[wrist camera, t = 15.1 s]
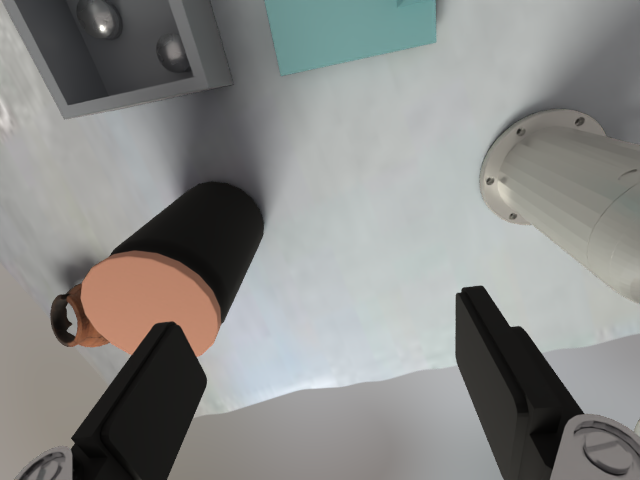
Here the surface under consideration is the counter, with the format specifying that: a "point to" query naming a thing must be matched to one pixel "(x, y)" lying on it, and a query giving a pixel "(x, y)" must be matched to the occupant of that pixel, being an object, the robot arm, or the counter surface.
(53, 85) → the tub
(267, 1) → the teal platform with post
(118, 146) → the counter surface
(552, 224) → the robot arm
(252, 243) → the coffee jar
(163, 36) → the grey half disc
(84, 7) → the glossy grey dome
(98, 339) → the brown looped piece
